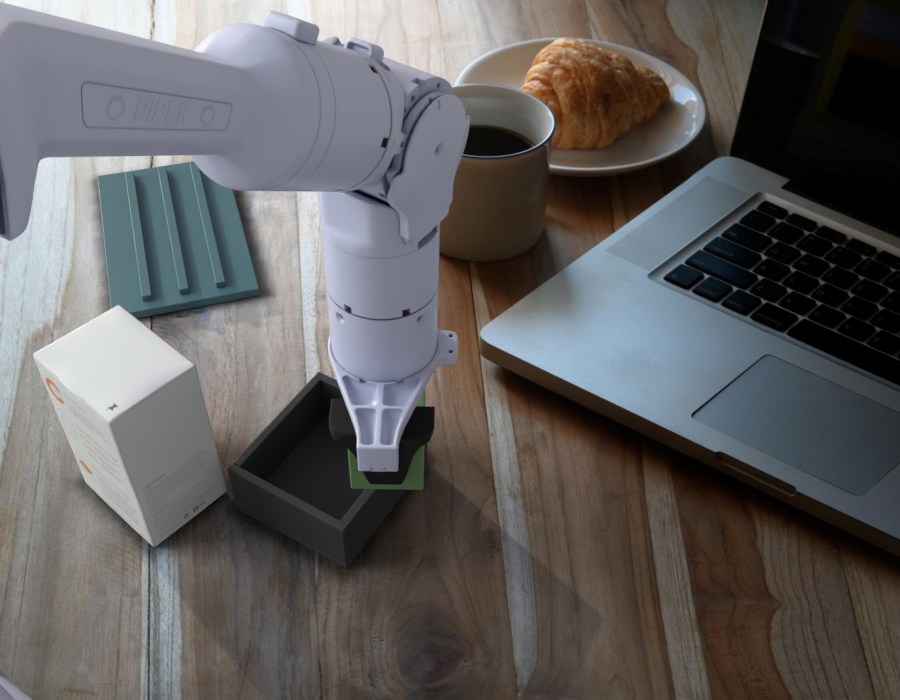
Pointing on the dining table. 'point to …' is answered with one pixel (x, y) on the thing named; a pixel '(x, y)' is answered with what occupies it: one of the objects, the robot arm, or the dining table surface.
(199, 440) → the small box
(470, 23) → the dining table surface
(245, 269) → the drainboard
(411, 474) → the block
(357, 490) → the dark grey open tray
